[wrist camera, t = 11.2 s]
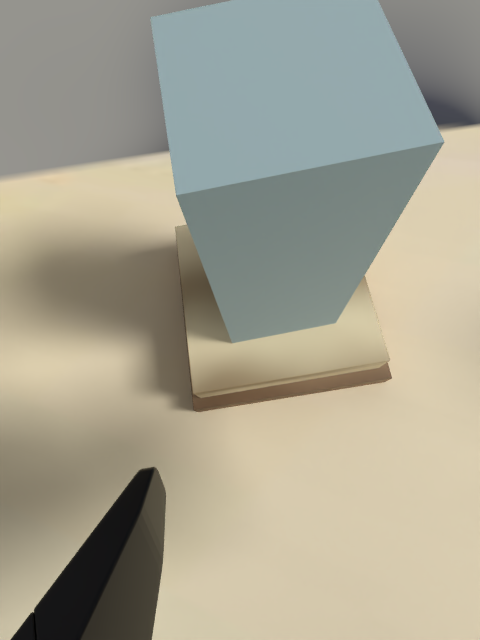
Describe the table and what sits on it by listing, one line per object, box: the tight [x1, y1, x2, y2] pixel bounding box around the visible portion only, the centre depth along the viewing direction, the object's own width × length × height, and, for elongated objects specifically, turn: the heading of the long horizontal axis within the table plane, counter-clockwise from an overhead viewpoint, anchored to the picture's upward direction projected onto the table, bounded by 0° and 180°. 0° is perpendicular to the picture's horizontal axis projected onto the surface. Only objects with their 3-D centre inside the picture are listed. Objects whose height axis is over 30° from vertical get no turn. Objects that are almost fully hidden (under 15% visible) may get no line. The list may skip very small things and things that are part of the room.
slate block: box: [150, 0, 444, 343], centre depth 14 cm, size 6×6×12 cm
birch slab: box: [175, 225, 390, 398], centre depth 20 cm, size 10×10×2 cm
